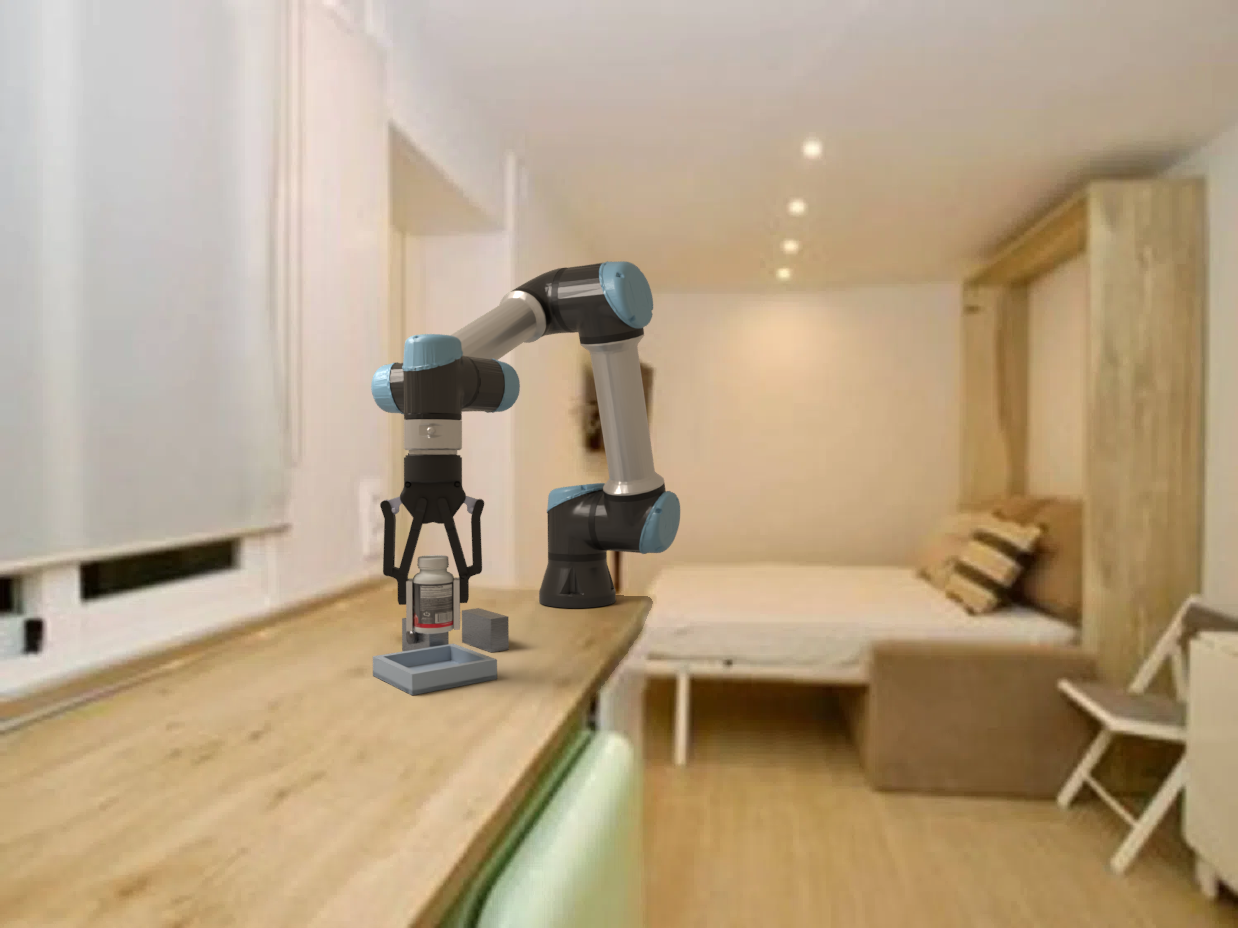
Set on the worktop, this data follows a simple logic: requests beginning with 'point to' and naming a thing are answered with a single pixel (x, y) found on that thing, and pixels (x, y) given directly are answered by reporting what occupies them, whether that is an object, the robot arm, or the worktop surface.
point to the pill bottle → (433, 596)
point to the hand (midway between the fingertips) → (433, 627)
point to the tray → (434, 668)
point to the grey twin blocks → (465, 632)
